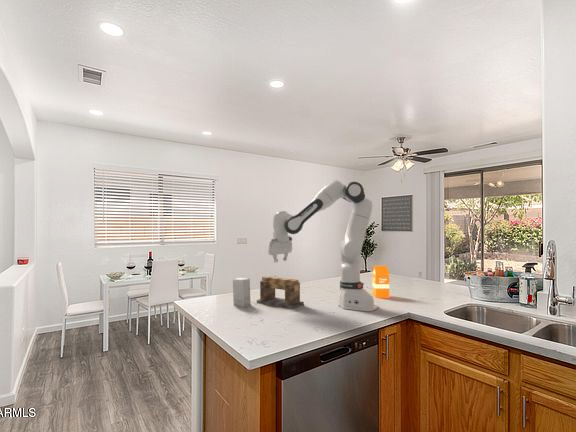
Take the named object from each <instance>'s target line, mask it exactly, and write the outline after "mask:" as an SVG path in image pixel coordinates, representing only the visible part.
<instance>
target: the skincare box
mask: <svg viewBox="0 0 576 432" xmlns="http://www.w3.org/2000/svg"><path fill="white" fill-rule="evenodd" d="M250 280H251V279H250V278H248V277H237V278H232V293H233V294H232V296H233V297H232V298H233V301H232V302H233V306H237V307H242V308H245V307H248V306H250V305H251V304H252V303H251V281H250Z"/></svg>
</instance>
